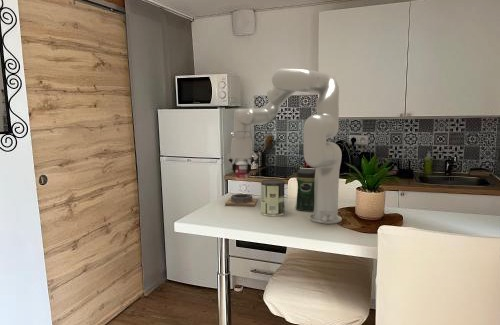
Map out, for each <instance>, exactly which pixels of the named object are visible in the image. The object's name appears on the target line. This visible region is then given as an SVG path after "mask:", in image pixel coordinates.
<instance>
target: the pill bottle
mask: <svg viewBox="0 0 500 325" xmlns="http://www.w3.org/2000/svg"><path fill="white" fill-rule="evenodd" d="M248 180H249V173H248V161H247V159H236V162H235V181H248Z"/></svg>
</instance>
